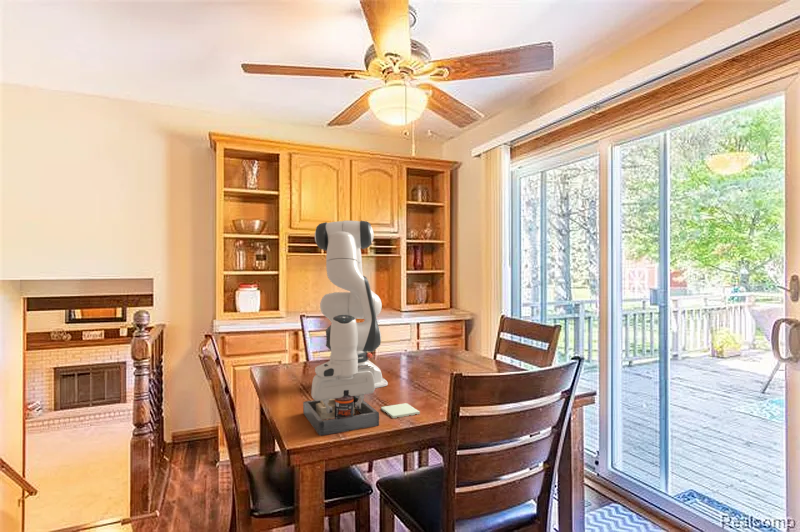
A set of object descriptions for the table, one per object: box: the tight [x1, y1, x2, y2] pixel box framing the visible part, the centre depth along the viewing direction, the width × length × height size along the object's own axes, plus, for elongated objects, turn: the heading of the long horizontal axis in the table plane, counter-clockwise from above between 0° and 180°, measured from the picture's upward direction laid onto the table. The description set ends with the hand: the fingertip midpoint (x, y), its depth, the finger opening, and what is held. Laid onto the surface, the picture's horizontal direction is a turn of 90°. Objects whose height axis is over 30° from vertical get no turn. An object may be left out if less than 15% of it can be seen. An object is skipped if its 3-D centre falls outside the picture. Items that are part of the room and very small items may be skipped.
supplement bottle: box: [334, 390, 355, 419], centre depth 136 cm, size 6×6×11 cm
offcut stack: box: [316, 399, 356, 420], centre depth 144 cm, size 12×6×6 cm, turn 116°
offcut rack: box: [302, 395, 380, 437], centre depth 140 cm, size 19×21×4 cm
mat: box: [380, 402, 421, 419], centre depth 147 cm, size 10×10×1 cm
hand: (343, 410), depth 135 cm, fingers open, 8 cm apart
